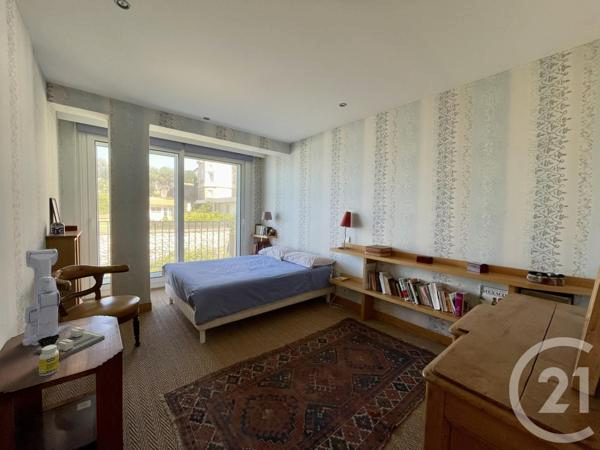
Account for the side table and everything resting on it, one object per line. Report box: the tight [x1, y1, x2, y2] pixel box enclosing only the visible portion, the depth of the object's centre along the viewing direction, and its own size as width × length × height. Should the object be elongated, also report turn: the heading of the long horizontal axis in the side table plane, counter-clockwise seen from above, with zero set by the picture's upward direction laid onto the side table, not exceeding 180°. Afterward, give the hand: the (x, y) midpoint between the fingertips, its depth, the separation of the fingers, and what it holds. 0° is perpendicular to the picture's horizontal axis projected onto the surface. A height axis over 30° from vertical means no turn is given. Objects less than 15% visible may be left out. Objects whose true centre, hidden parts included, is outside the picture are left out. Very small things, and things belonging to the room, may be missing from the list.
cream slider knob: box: [69, 326, 85, 337], centre depth 119 cm, size 4×3×3 cm
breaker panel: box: [35, 330, 105, 360], centre depth 114 cm, size 15×18×2 cm
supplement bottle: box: [38, 345, 60, 377], centre depth 95 cm, size 5×5×10 cm
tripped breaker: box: [59, 339, 73, 351], centre depth 108 cm, size 4×3×3 cm
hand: (47, 353), depth 102 cm, fingers closed
